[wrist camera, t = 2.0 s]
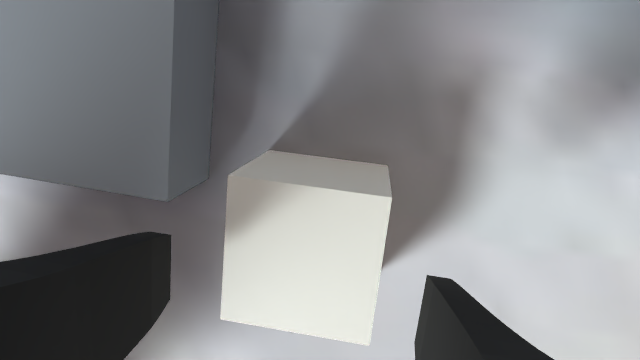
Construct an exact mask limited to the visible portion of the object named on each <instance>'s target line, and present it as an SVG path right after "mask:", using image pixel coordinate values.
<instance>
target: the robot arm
mask: <svg viewBox="0 0 640 360" xmlns="http://www.w3.org/2000/svg"><path fill="white" fill-rule="evenodd" d="M170 271H171V235H168V234H161V233H155V232H144V233H137V234H132V235H127V236H122V237H118V238H113V239H109V240H105V241H101V242H97V243H93V244H88V245H84V246H80V247H76V248H71V249H66V250H62V251H57V252H52V253H48V254H43V255H39V256H33V257H28V258H22V259H16V260H10V261H3V262H0V360H123V359H124V358H125V357H126V356H127V355H128V354H129V353H130V352H131V351H132V349H133V348H134V347H135V346H136V345H137V344H138V343H139V341H140V340H141V339H142V338H143V337H144V336H145V335H146V333H147V332H148V331H149V330H150V329H151V328H152V326H153V325H154V323H155V322H156V320H157V319H158V317H159V316H160V315H161V313H162V311H163V310H164V308H165V307H166V305H167V303H168V302H169V300H170ZM415 360H554V359H552V358H551V357H549V356H548V355H546V354H545V353H543V352H542V351H540V350H538V349H537V348H536V347H534V346H533V345H531V344H530V343H529V342H527V341H526V340H524V339H523V338H522V337H520V336H519V335H518V334H517V333H515V332H514V331H513V330H511V329H510V328H509V327H507V326H506V325H505V324H504V323H502V322H501V321H500V320H499V319H497V318H496V317H495V316H494V315H493V314H491V313H490V312H489V311H488V310H487V309H486V308H484V307H483V306H482V305H481V304H480V303H479V302H478V301H476V300H475V299H474V298H473V297H472V296H471V295H470V294H469V293H467V292H466V291H465V290H464V289H463V288H462V287H461V286H459V285H458V284H457V283H456V282H454V281H453V280H452V279H448V278H442V277H436V276H429V275H427V278H426V283H425V289H424V294H423V300H422V305H421V310H420V316H419V321H418V327H417V332H416V338H415Z"/></svg>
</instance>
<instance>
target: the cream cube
mask: <svg viewBox="0 0 640 360" xmlns="http://www.w3.org/2000/svg"><path fill="white" fill-rule="evenodd" d="M391 202H392V192H391V184H390V177H389V169H388V165H382V164H374V163H366V162H358V161H351V160H343V159H335V158H327V157H320V156H312V155H304V154H296V153H288V152H281V151H273V150H268V151H267V152H265V153H263V154H262V155H260V156H258V157H257V158H255V159H253V160H252V161H250V162H248V163H247V164H245V165H244V166H242V167H240V168H239V169H237V170H235V171H234V172H232V173H230V174H229V175H228V181H227V201H226V220H225V240H224V259H223V279H222V298H221V318H220V319H221V320H226V321H232V322H238V323H243V324H249V325H255V326H260V327H266V328H271V329H277V330H283V331H288V332H294V333H300V334H305V335H311V336H317V337H322V338H328V339H333V340H339V341H345V342H350V343H356V344H362V345H367V346H369V345H370V339H371V332H372V326H373V319H374V313H375V306H376V300H377V293H378V287H379V280H380V274H381V267H382V261H383V254H384V248H385V241H386V235H387V228H388V222H389V215H390V209H391Z"/></svg>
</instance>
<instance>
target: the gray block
mask: <svg viewBox="0 0 640 360" xmlns="http://www.w3.org/2000/svg"><path fill="white" fill-rule="evenodd" d="M218 12H219V0H0V174H4V175H10V176H16V177H22V178H28V179H34V180H39V181H45V182H51V183H57V184H63V185H69V186H75V187H81V188H87V189H93V190H99V191H105V192H111V193H117V194H123V195H129V196H135V197H141V198H147V199H153V200H159V201H165V202H168V201H170V200H172V199H174V198H175V197H177V196H179V195H181V194H182V193H184V192H186V191H188V190H189V189H191V188H193V187H195V186H196V185H198V184H200V183H202V182H203V181H205V180H207V179H208V177H209V161H210V144H211V128H212V111H213V95H214V78H215V61H216V45H217V28H218Z"/></svg>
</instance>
